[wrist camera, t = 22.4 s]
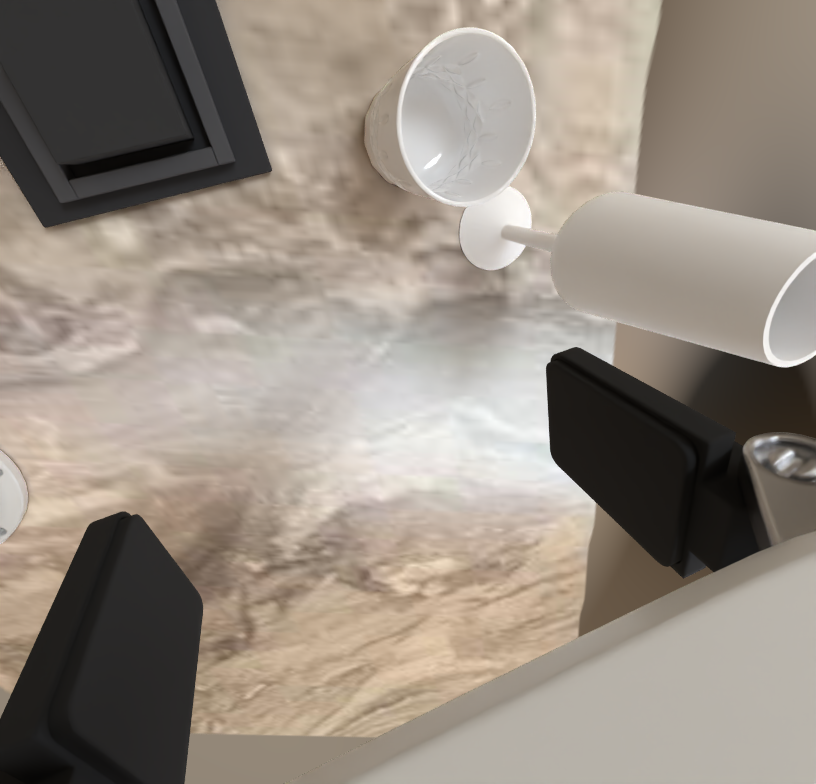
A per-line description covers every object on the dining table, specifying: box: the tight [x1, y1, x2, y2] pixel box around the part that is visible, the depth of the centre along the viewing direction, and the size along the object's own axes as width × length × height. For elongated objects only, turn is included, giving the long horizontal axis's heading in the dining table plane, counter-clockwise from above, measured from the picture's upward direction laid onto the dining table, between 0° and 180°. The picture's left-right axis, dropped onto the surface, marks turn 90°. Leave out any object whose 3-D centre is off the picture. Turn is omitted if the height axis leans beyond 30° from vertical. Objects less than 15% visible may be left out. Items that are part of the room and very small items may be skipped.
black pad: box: [0, 0, 194, 165], centre depth 22 cm, size 6×6×4 cm
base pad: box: [0, 0, 272, 227], centre depth 24 cm, size 14×12×2 cm
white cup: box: [364, 27, 536, 207], centre depth 27 cm, size 8×8×10 cm
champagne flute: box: [459, 186, 816, 367], centre depth 26 cm, size 7×7×24 cm
